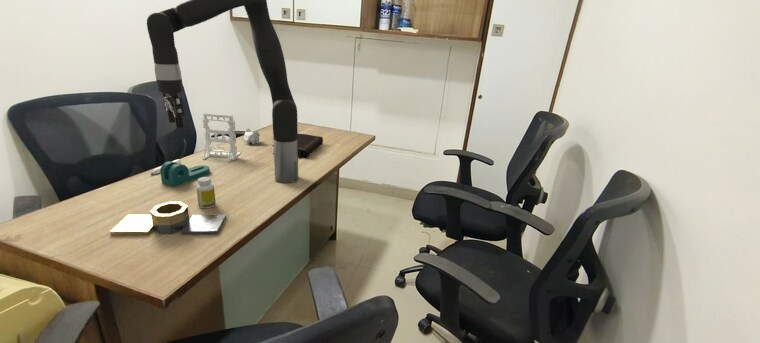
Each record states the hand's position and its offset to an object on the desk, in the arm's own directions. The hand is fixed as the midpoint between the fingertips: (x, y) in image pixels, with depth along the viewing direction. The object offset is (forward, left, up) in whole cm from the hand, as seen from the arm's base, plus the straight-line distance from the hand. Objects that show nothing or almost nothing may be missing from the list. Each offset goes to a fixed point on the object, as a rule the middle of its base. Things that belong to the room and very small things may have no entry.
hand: (176, 124), depth 125 cm
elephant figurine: (-13, -57, -24) cm, 63 cm away
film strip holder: (-4, -36, -24) cm, 43 cm away
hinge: (-6, +28, -24) cm, 38 cm away
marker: (+14, -18, -25) cm, 33 cm away
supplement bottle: (-12, +14, -24) cm, 31 cm away
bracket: (+2, -10, -25) cm, 27 cm away
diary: (-38, -50, -25) cm, 67 cm away
